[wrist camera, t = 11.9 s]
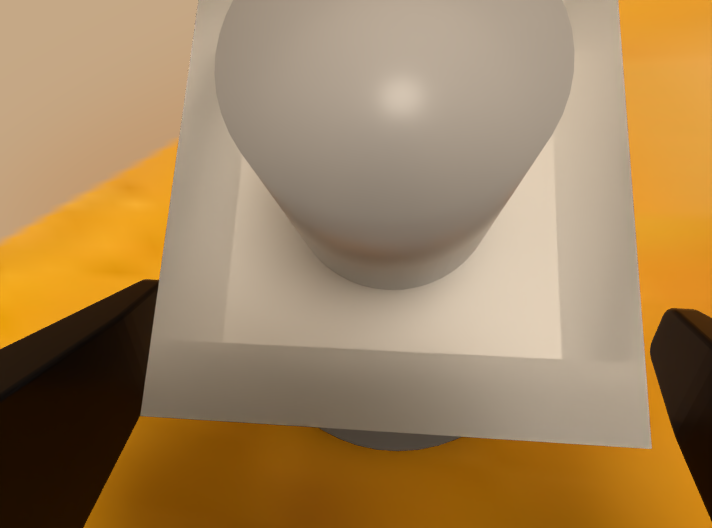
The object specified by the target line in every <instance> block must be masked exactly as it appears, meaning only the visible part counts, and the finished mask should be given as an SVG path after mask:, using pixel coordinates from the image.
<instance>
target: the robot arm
mask: <svg viewBox="0 0 712 528" xmlns="http://www.w3.org/2000/svg"><path fill="white" fill-rule="evenodd" d="M158 286H159V280H151V279H145V280H142V281H140V282H138V283H135V284H133V285H131V286H129V287H127V288H125V289H123V290H121V291H119V292H117V293H115V294H113V295H111V296H109V297H107V298H105V299H103V300H101V301H99V302H96V303H94V304H92V305H90V306H88V307H86V308H84V309H82V310H80V311H78V312H76V313H74V314H72V315H70V316H68V317H66V318H64V319H62V320H60V321H57V322H55V323H53V324H51V325H49V326H47V327H45V328H43V329H41V330H39V331H37V332H35V333H33V334H31V335H29V336H27V337H25V338H23V339H21V340H18V341H16V342H14V343H12V344H10V345H8V346H6V347H4V348H2V349H0V528H83V527H84V525H85V523H86V521H87V519H88V517H89V515H90V513H91V511H92V509H93V507H94V505H95V503H96V501H97V499H98V497H99V495H100V493H101V491H102V489H103V487H104V485H105V484H106V482H107V480H108V478H109V476H110V474H111V472H112V470H113V468H114V466H115V464H116V462H117V460H118V458H119V456H120V454H121V452H122V450H123V448H124V446H125V444H126V442H127V440H128V438H129V436H130V434H131V432H132V430H133V428H134V426H135V424H136V422H137V420H138V419H139V417H140V414H141V407H142V400H143V393H144V386H145V378H146V371H147V364H148V357H149V350H150V343H151V336H152V328H153V321H154V314H155V307H156V300H157V293H158ZM650 355H651V360H652V363H653V366H654V370H655V373H656V376H657V380H658V383H659V386H660V389H661V393H662V396H663V399H664V403H665V406H666V409H667V413H668V416H669V419H670V422H671V425H672V428H673V431H674V434H675V437H676V439H677V442H678V444H679V447H680V449H681V452H682V454H683V456H684V459H685V461H686V463H687V465H688V468H689V470H690V472H691V475H692V477H693V479H694V482H695V484H696V486H697V489H698V491H699V493H700V495H701V498H702V500H703V502H704V505H705V507H706V509H707V512H708V514H709V516H710V519H711V521H712V318H710V317H709V316H707V315H705V314H703V313H701V312H700V311H697V310H694V309H680V308H671V309H669V310H667V311H666V312H665V313H664V315H663V317H662V319H661V322H660V324H659V326H658V329H657V331H656V333H655V336H654V338H653V340H652V343H651V347H650Z"/></svg>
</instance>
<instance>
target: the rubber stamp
mask: <svg viewBox="0 0 712 528" xmlns="http://www.w3.org/2000/svg"><path fill="white" fill-rule="evenodd" d="M140 416H150V417H165V418H181V419H196V420H212V421H227V422H243V423H258V424H274V425H289V426H305V427H320V428H336V429H351V430H367V431H382V432H397V433H413V434H428V435H444V436H459V437H475V438H490V439H506V440H521V441H537V442H552V443H568V444H583V445H599V446H614V447H630V448H645V449H652V445H651V432H650V419H649V405H648V392H647V379H646V365H645V352H644V339H643V326H642V312H641V299H640V286H639V272H638V259H637V246H636V232H635V219H634V206H633V193H632V179H631V166H630V153H629V139H628V126H627V113H626V100H625V86H624V73H623V60H622V46H621V33H620V20H619V6H618V0H198V7H197V14H196V21H195V29H194V36H193V43H192V50H191V57H190V64H189V72H188V79H187V86H186V93H185V100H184V107H183V114H182V122H181V128H180V136H179V143H178V150H177V157H176V164H175V171H174V178H173V186H172V193H171V200H170V207H169V214H168V221H167V228H166V236H165V243H164V250H163V257H162V264H161V271H160V278H159V286H158V293H157V300H156V307H155V314H154V321H153V328H152V336H151V343H150V350H149V357H148V364H147V371H146V378H145V386H144V393H143V400H142V407H141V414H140Z"/></svg>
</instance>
